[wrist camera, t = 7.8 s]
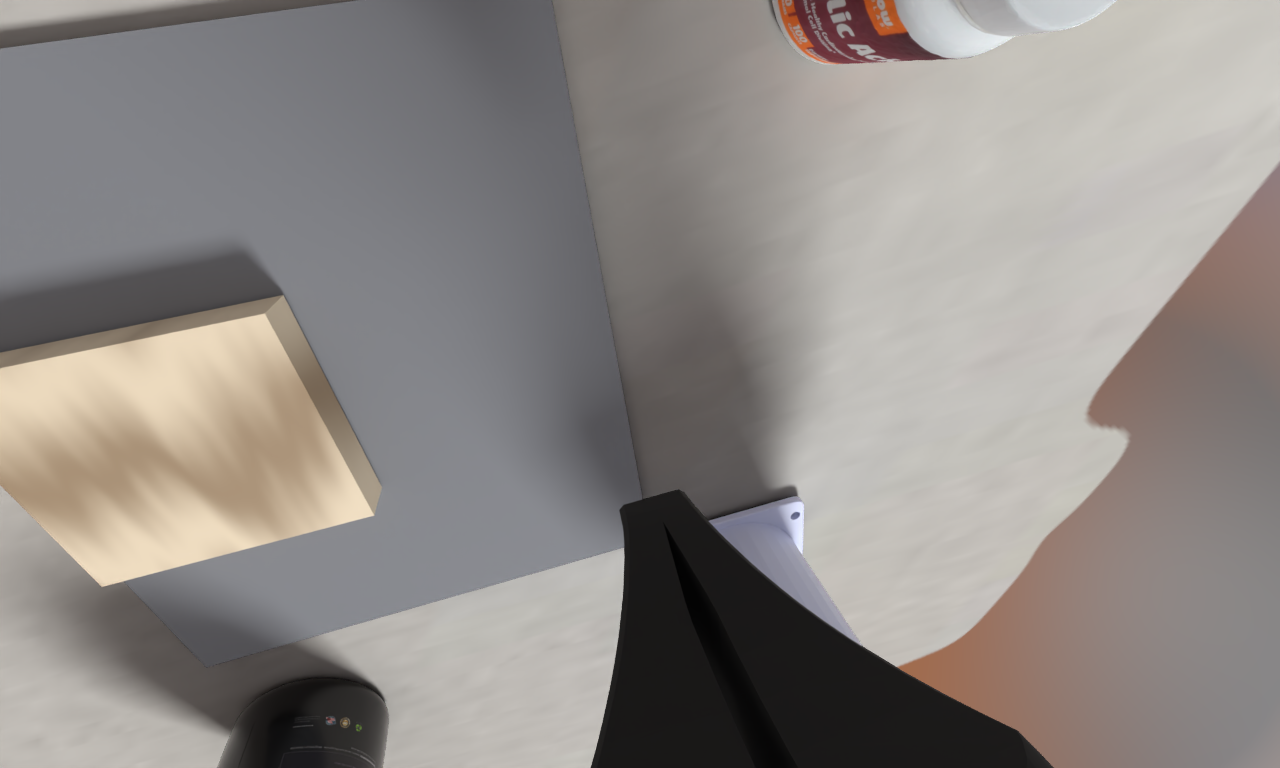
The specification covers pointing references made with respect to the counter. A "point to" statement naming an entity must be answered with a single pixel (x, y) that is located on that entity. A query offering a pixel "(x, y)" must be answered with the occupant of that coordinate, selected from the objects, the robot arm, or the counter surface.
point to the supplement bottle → (310, 728)
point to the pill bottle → (920, 26)
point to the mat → (342, 278)
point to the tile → (179, 440)
